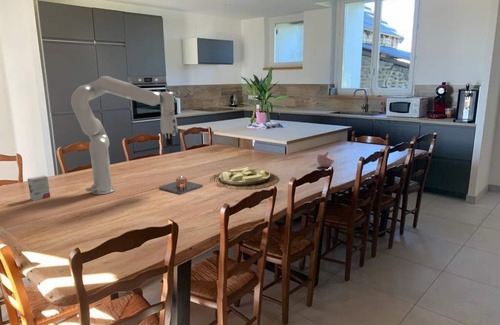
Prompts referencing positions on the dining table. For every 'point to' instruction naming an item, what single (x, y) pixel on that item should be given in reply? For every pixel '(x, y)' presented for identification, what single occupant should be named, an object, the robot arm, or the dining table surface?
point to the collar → (181, 182)
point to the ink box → (38, 187)
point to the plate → (246, 179)
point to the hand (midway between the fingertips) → (169, 145)
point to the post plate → (175, 189)
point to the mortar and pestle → (324, 160)
